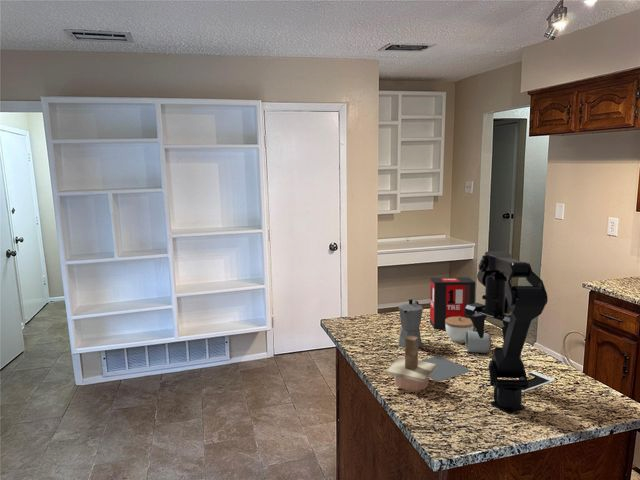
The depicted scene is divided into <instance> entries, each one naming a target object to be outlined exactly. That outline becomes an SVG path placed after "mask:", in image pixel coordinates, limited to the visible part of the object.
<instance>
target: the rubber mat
mask: <svg viewBox="0 0 640 480" xmlns="http://www.w3.org/2000/svg"><path fill="white" fill-rule="evenodd" d="M420 361H423V362H428V363H433V364H436V368H435V370H434V371H433V372H432V373H431V375H430V376H429V377H428V378H429V379H432V380H434V381H436V382H441V381H444V380H447V379H450V378H453V377H454V378H455V377H457V376H460V375H464V374H466V373H467V374H468V373H470V372H472V370H471V369H469V368H467V367H465V366H462V365H461V364H458V363H457V362H454V361H452V360H450V359H447V358H445V357H444V356H441V355H435V356H432V357H428V358H425V359H421V360H420Z"/></svg>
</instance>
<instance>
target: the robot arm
mask: <svg viewBox="0 0 640 480" xmlns="http://www.w3.org/2000/svg"><path fill="white" fill-rule="evenodd" d="M506 275H507V276H506ZM512 278H513V279H515V278H525V280H526V281H527V282H528V283H529V284H530V285H513V286H512V284H511V280H512ZM476 279H477V280H478V282H479V283H480V284H481V285H482V286H483V287H484V288H485V291H484V293H485V294H484V295H482V296H481V297H482V298H481V299H482V300H484V304H482V303H479V302H475V303H473V304H468V305H467V306H466V307H465V314H468V317H469V318H470V319H471V321H472V323H473V324H474V329H475V331H476V332H477V333H478V335H479V337H480V338H483V336H484V333H485V320H486V319H487V317H489V318H492V319H496V320H499V321H501V322H502V325H503V326H502V327H501V330H502V339H503V342H502V346H500V347H499V346H498V347H497V346H495V347H494V349H493V353H492V355H491V360H489V364H488V372H489V373H488V374H489V381H490V382H489V385H490V386H492V387H493V401H490V405H491V406H493V407H495V408H497V409H499V410H501V411H503V412H505V413H507V414H509V415H512V414H513V413H516V412H519V411H521V410H524V409H525V408H526V407H525V405H524V404H522V398H523V397H522V394H523V393H522V389H527V387H528V381H527V380H528V377H527V372H526V369H525V364H524V362H523V360H522V356H521V355H522V351H523V348H524V345H525V343H526V339H527V336H528V332H529V331H530V330H529V329H530V326H531V323H532V321H533V320H534V319H536V318H537V317H539V316H540V315H541V314H542V313H543V311H544V309H545V307H546V305H547V304H548V293H547V291H546V287H545V285H544V282H543V279H541V278H540V277H539V276H538V275H537V274H536V273H535V272H534V271H533V269H532V267H531V264H530V263H529V262H526V261H522V260H521V261H520V260H517V259H515V258H512V254H510V253H509V252H508V251H485V252H484V255H482V257H481V259H480V261H479V264H478V272H477V276H476ZM510 312H511V313H510ZM507 314H509V315H507Z"/></svg>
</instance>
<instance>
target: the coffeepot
mask: <svg viewBox="0 0 640 480" xmlns="http://www.w3.org/2000/svg"><path fill="white" fill-rule="evenodd" d="M423 309H424V308H423V306H422V305H420V303H419V301H417V300H415V301H414V302H413V298H412V299H411V298H410V299H408V303H402V304H400V305H398V312H399V319H400V325H401V328H400V333H399V338H398V346H399V347H400V348H405V338H406V337H408V336H415V337H418V348H421V347H423V344H422V343H423V342H422V336H421V331H420V325H421V324H422V323H421V322H422V317H423Z"/></svg>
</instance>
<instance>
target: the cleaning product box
mask: <svg viewBox="0 0 640 480" xmlns="http://www.w3.org/2000/svg"><path fill="white" fill-rule="evenodd" d="M429 288H430V289H429V290H430V291H429V292H430V294H429V295H430V297H429V323H430V325H431V327H432V328H433V330H446V327H445V319H446V318H449V317H458V316H461V317H465V318H469V317H468V314H465V307H466V306H467V305H468V304H473V303H476V302H475V301H476V281H474V280H473V278H470V277H468V276H467V277H466V276H465V277H430V287H429ZM469 319H470V318H469ZM473 330H475V326H474V327H473Z"/></svg>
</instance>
